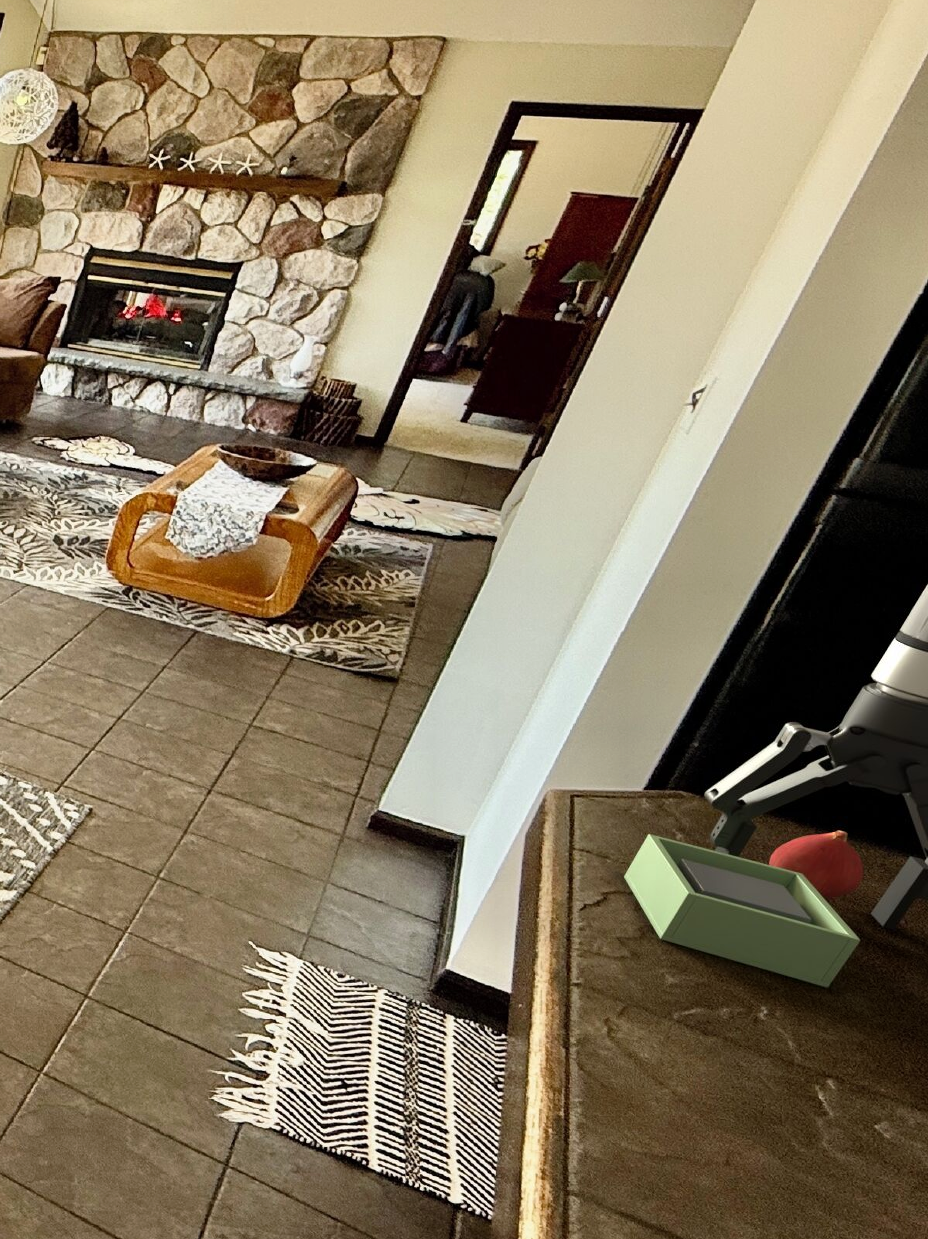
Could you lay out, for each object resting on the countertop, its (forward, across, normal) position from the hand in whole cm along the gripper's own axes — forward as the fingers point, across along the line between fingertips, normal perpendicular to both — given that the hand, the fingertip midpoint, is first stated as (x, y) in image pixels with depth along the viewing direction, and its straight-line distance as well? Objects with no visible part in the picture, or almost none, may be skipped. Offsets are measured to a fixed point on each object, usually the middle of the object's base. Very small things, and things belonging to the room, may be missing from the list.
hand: (795, 898), depth 113 cm
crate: (0, +8, +13) cm, 16 cm away
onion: (0, 0, 0) cm, 0 cm away
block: (0, +8, +13) cm, 16 cm away
